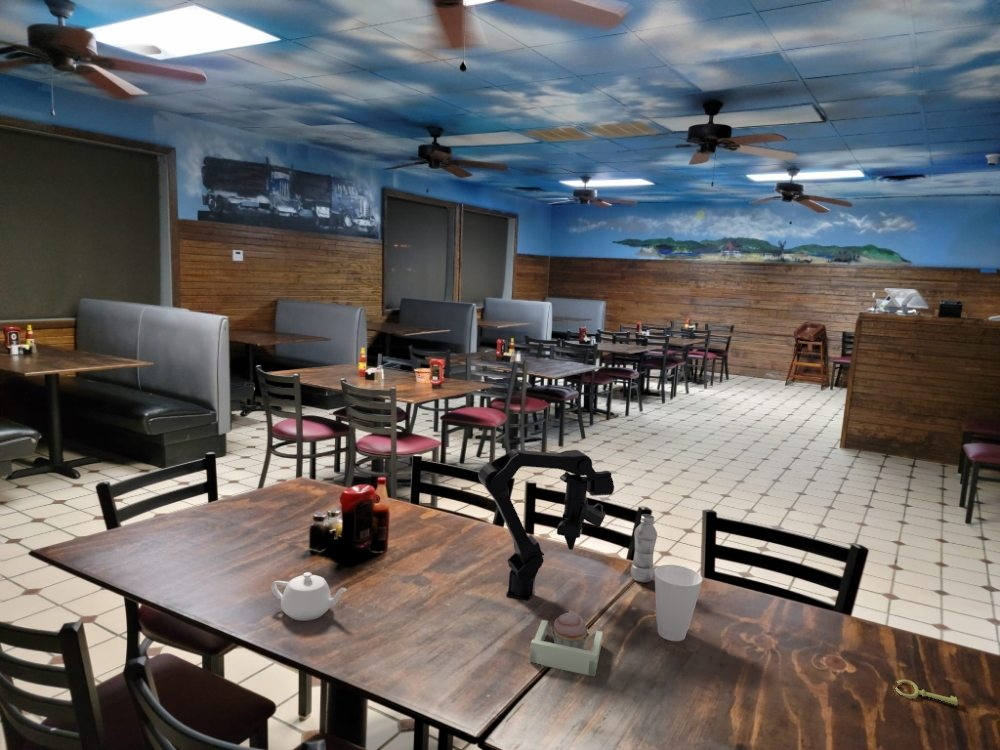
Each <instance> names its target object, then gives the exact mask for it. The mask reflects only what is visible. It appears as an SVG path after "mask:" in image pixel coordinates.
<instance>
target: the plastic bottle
mask: <svg viewBox="0 0 1000 750" xmlns="http://www.w3.org/2000/svg"><path fill="white" fill-rule="evenodd" d="M640 517H641V518H640V523H639V525H638V526H637V527H636V528H635V530H634V554H633V560H632V564H631V568H630V576H631V578H632V579H633V580H634V581H636V582H638V583H647V584H648V583H650V582H651V581H652V580H653V578H654V576H655V574H654V570H655V569H654V552H655V546H656V543H657V539H658V533H657V532H658V531H657V530H656V527H655V526H654V524H655V516H654V515H652V514H647V513H644V514H643V513H642V514H641V516H640Z"/></svg>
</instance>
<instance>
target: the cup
mask: <svg viewBox="0 0 1000 750" xmlns="http://www.w3.org/2000/svg"><path fill="white" fill-rule="evenodd" d="M653 570H654V588H655V589H654V590H655V591H654V592H655V593H654V594H655V618H656V619H655V620H656V625H657V633H658V635H659V636H660V637H661V638H663V639H665V640H666V641H667V640H668V641H669V642H670V641H672V642H680V641H681V642H682V641H684V640H685V639H686V636H687V633H688V630H690V629H689V628H690V625H691V622H692V619H693V616H694V611H695V608H696V604H697V602H698V601H697V600H698V597H699V594H700V591H701V587H702V584H703V581H704V579H703V576H702V575H701V574H700V573H699V572H697V571H696V570H694V569H692V568H689V567H686V566H682V565H677V564H662V565H659V566H657V567H656V568H655V569H653Z"/></svg>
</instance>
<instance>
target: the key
mask: <svg viewBox="0 0 1000 750" xmlns="http://www.w3.org/2000/svg"><path fill="white" fill-rule="evenodd" d="M896 682H897V683H900V682H908V683H910V684H911V685H913V687H914V689H915V690H914V689H913V690H914V693H912V694H909V693H904V692H902V691H901V690H900V688H899V689H898V688H897V687H896V688H895V689H896V691H897V692H898V693H899V694H900V695H903V696H906V697H908V698H916V697H917V696H918V695H919V694H920V695H922V696H928V697H932V698H935V699H939V700H941V701H945V702H948V703H947V704H949V703H951V705H953V704H954V706H958V703H959V701H958V699H957V696H953V695H950V697H947V696H943V695H940V694H936V693H933V692H927V691H926V690H925V689H921V690H919V687H918V686H917V684H916V683H915V682H913V681H911V680H909V679H899V680H897V681H896ZM918 697H919V696H918ZM941 701H940V702H941ZM945 702H944V703H945Z"/></svg>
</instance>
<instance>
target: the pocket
mask: <svg viewBox="0 0 1000 750" xmlns="http://www.w3.org/2000/svg"><path fill="white" fill-rule="evenodd" d="M548 625H549V621H548V620H544V619H541V621H540V625H539V626H538V629H537V632H536V634H535V636H534V638H533V639H531V642H530V651H529V652H530V653H529V662H533V663H532V664H534V663H537V664H536V665H538V664H541V665H540V666H543V665H544V666H543V667H548V668H553V669H558V670H562V671H568V672H572V673H577V674H581V675H584V676H585V675H586V676H591V677H596V672H597V668H598V663H599V658H600V654H601V648H602V643H603V631H600V630H596V631H595V636H594V641H593V645H592V648H591V650H587V649H584V648H583V649H579V648H574V647H569V646H564V645H559V644H554V642H549V641H546V638H547V635H548ZM544 640H545V641H544Z"/></svg>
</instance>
